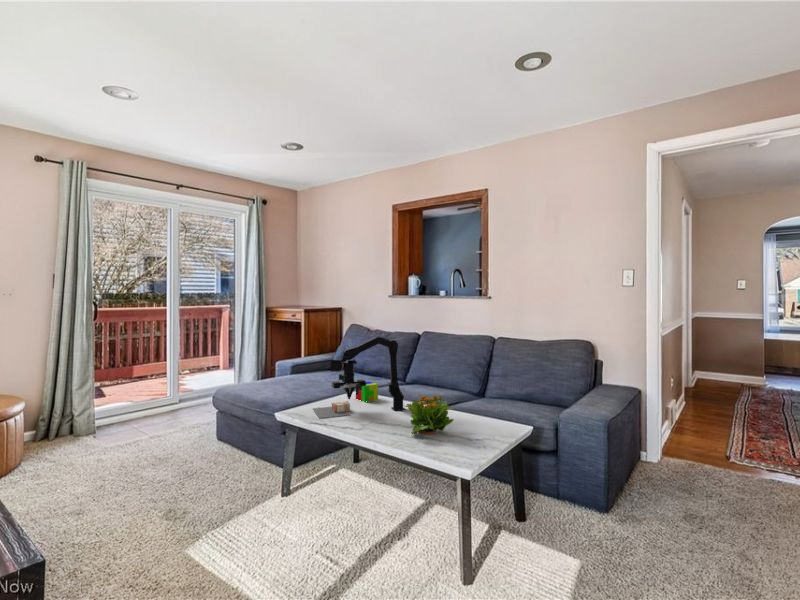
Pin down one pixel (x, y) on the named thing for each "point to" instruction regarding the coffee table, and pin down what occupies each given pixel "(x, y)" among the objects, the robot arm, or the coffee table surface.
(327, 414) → the mat
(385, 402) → the coffee table surface
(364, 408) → the coffee table surface
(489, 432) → the coffee table surface
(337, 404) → the maple block
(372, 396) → the puzzle toy
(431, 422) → the potted flower
